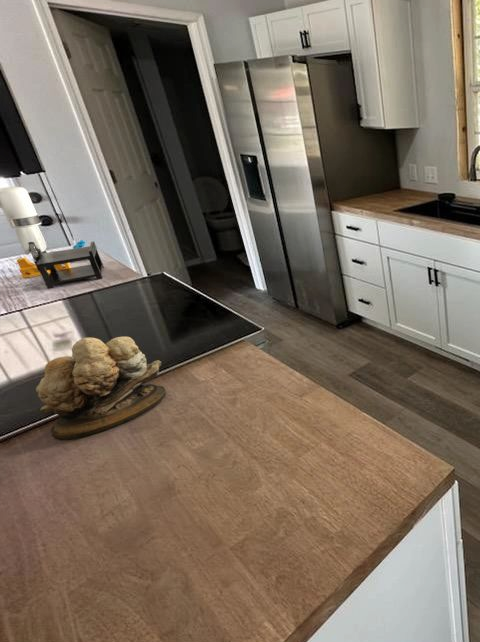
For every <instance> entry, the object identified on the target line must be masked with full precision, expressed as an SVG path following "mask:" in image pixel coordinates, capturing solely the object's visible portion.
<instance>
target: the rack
mask: <svg viewBox="0 0 480 642" xmlns="http://www.w3.org/2000/svg"><path fill="white" fill-rule="evenodd" d="M88 259H89V260H88ZM81 261H89V263H90V264H86V265H79V266H74V267H71V268H67V269H62V270H56V268H55V266H54V265H58V264H64V263H69V264H70V263H75V262H81ZM36 266H37V268H38V269H39V271H40V273H41V275H40V276H41V277H42V280H43V281H44V285H45V286H46V288H47V290H51V289H54V287H55V286H54V285H58V284H64V283H68V282H75V281H80V280H84V279H89V278H90V279H91V278H95V279H96V280H102V279H103V275H102V273H103V269H105V266H104V263H103V261H102V258H101V257H100V254H99V251H98V248H97V245H96V243H95V240H94V241H91V242H90V245H88V246H84V247H82V248H75V249H73V248H70V249H63V250H55V251H50V252H47V253H43V254H42V256H41V257H40V259H39V261H38V262H37V264H36ZM46 266H48V267H49V269H50V273H49V274H48V272H47V270H46V268H45V267H46Z"/></svg>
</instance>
